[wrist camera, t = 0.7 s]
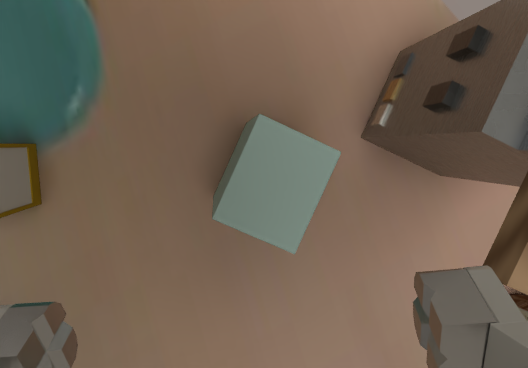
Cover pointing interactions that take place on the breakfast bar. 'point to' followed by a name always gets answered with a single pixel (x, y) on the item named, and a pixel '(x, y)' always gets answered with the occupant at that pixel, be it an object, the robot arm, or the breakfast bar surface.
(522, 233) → the walnut bar
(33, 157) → the soap bottle
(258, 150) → the block
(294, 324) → the breakfast bar surface
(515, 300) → the food container
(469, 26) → the control unit
